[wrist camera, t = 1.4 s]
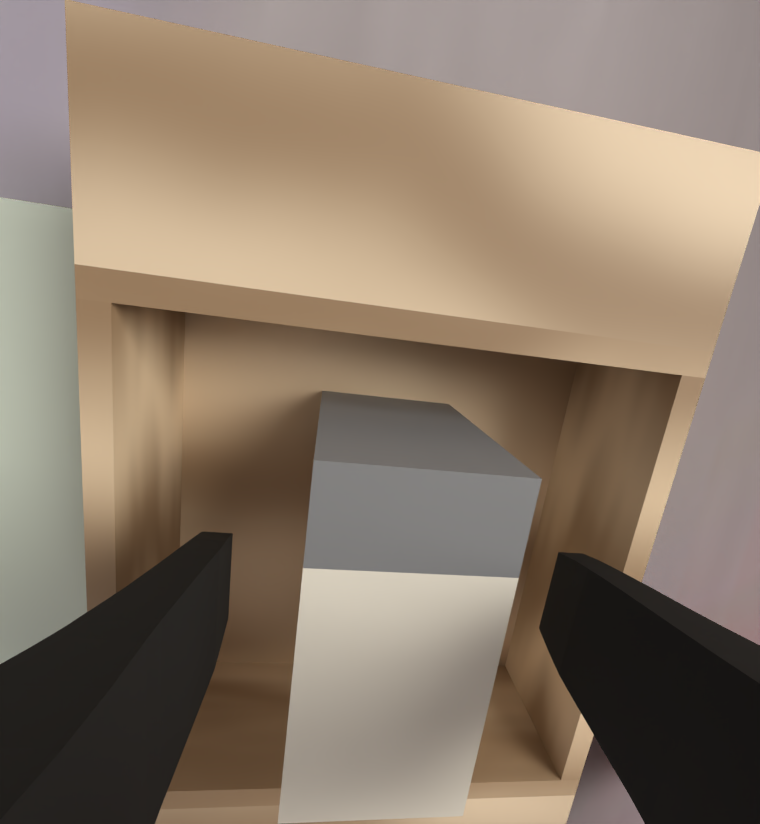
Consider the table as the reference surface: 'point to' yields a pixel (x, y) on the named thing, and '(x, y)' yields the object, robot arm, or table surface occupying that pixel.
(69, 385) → the board
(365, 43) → the table surface
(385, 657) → the block
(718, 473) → the table surface
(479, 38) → the table surface
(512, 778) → the light wood shallow tray
